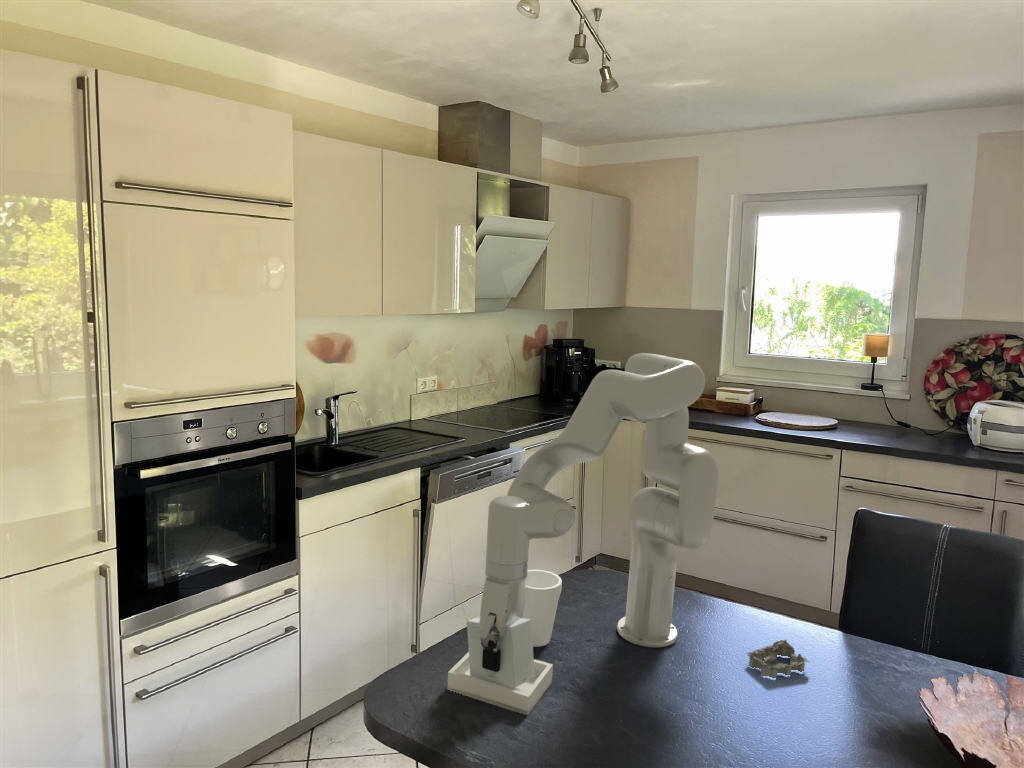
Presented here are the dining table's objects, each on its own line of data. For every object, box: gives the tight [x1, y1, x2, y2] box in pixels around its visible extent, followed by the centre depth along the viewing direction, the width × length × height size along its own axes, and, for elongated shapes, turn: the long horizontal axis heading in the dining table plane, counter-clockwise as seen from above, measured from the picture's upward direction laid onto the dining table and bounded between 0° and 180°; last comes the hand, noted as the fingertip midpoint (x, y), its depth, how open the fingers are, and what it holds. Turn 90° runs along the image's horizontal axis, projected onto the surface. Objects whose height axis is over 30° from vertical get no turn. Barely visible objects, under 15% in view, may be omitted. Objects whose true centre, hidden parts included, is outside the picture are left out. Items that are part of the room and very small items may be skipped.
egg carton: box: [746, 639, 810, 678], centre depth 145 cm, size 11×8×4 cm
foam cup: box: [522, 569, 563, 648], centre depth 151 cm, size 10×9×13 cm
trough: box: [447, 651, 554, 716], centre depth 134 cm, size 12×16×4 cm
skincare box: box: [466, 616, 535, 688], centre depth 133 cm, size 10×6×10 cm, turn 53°
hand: (501, 657), depth 133 cm, fingers open, 8 cm apart
